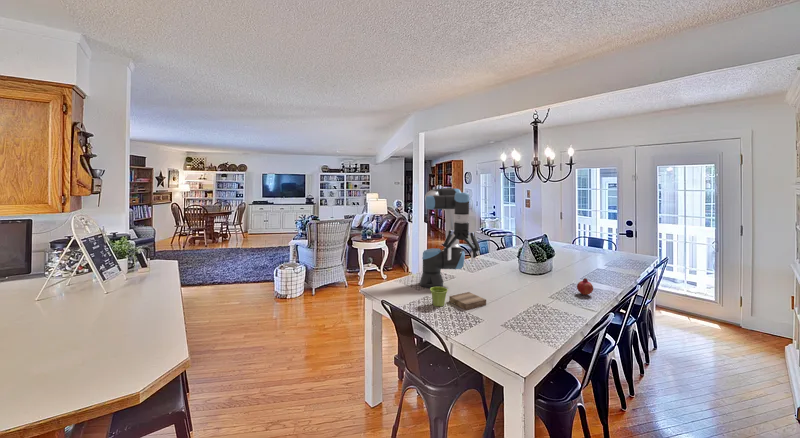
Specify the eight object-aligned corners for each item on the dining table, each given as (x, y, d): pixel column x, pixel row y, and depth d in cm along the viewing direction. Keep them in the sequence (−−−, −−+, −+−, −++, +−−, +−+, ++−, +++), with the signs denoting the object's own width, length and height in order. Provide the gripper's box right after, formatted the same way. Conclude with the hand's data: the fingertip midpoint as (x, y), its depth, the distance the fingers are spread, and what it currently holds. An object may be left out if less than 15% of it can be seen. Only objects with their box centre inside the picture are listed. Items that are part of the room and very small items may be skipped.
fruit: (594, 297, 178) (596, 280, 177) (579, 296, 180) (580, 279, 178) (589, 292, 186) (590, 276, 185) (574, 292, 187) (575, 275, 186)
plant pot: (437, 300, 176) (437, 285, 175) (450, 304, 169) (451, 289, 168) (426, 304, 169) (426, 289, 168) (440, 309, 162) (440, 293, 161)
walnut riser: (449, 301, 174) (449, 296, 173) (468, 296, 180) (468, 291, 180) (466, 310, 161) (466, 304, 161) (486, 304, 168) (486, 299, 168)
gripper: (437, 221, 168) (436, 259, 170) (481, 224, 153) (480, 266, 155) (443, 219, 174) (443, 256, 176) (487, 223, 159) (486, 263, 161)
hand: (460, 261), depth 166 cm, fingers open, 13 cm apart
